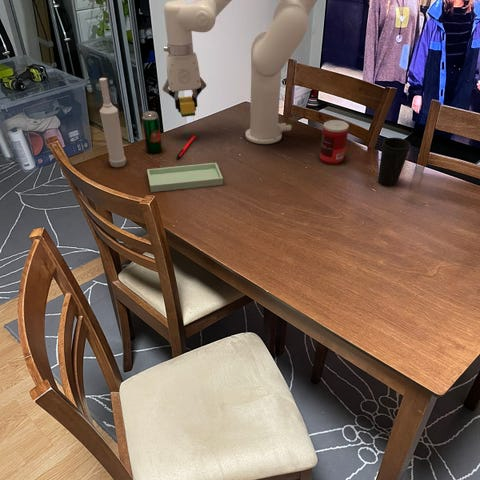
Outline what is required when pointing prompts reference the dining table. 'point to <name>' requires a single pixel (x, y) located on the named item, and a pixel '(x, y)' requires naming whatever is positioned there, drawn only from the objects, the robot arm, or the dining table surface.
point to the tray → (184, 177)
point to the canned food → (333, 141)
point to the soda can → (152, 132)
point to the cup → (392, 160)
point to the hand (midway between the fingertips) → (186, 109)
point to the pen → (185, 147)
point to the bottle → (111, 128)
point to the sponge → (187, 106)
